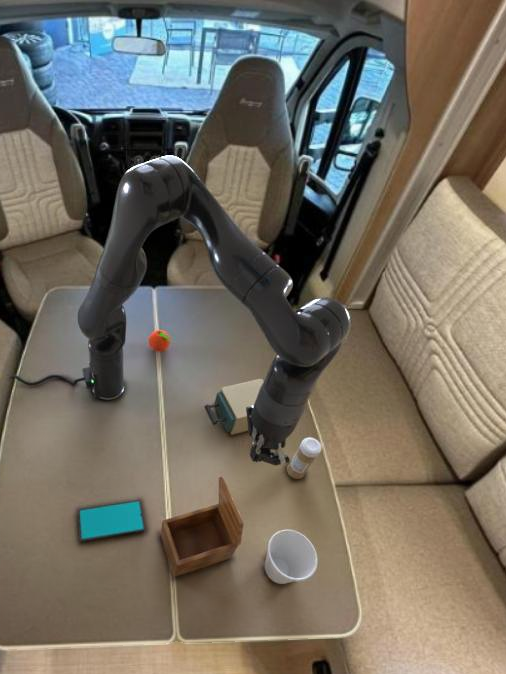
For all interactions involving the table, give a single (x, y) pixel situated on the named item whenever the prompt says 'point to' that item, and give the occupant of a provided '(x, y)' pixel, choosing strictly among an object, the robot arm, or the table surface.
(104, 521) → the smartphone
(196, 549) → the chest
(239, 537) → the chest lid
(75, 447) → the table surface
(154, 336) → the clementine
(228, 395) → the cabinet
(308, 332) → the robot arm
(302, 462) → the sprinkles bottle
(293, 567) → the cup
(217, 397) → the drawer
